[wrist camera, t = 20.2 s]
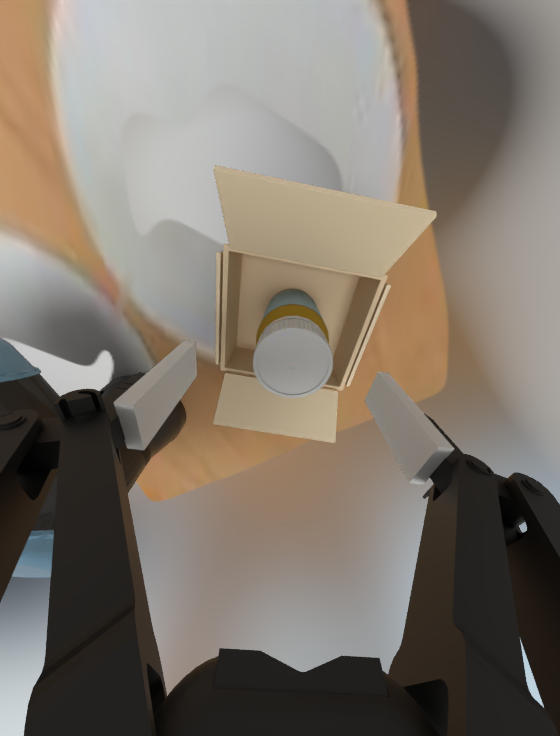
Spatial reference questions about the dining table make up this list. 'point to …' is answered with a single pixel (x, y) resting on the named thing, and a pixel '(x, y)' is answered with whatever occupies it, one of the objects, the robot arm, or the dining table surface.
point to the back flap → (276, 410)
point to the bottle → (292, 346)
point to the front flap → (316, 223)
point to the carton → (273, 274)
